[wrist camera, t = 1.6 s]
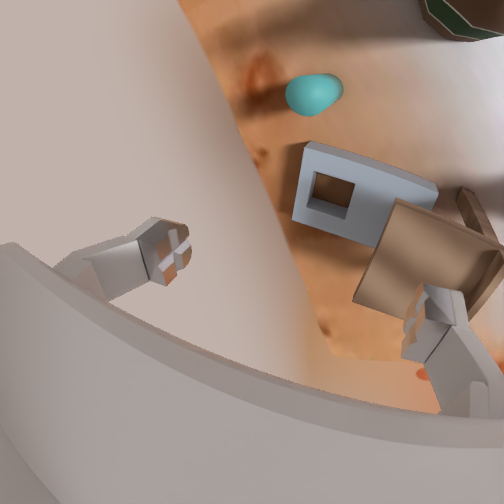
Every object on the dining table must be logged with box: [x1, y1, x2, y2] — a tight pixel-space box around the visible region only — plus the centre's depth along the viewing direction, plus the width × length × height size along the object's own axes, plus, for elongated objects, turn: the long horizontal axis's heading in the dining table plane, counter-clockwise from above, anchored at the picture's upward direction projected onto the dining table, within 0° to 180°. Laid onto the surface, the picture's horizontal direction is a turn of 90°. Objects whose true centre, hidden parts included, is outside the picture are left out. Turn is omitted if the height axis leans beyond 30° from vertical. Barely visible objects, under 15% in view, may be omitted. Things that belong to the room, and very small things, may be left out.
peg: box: [285, 74, 343, 116], centre depth 23 cm, size 4×4×10 cm
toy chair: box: [352, 187, 504, 322], centre depth 26 cm, size 12×12×14 cm
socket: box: [292, 141, 439, 248], centre depth 31 cm, size 10×16×3 cm, turn 86°
